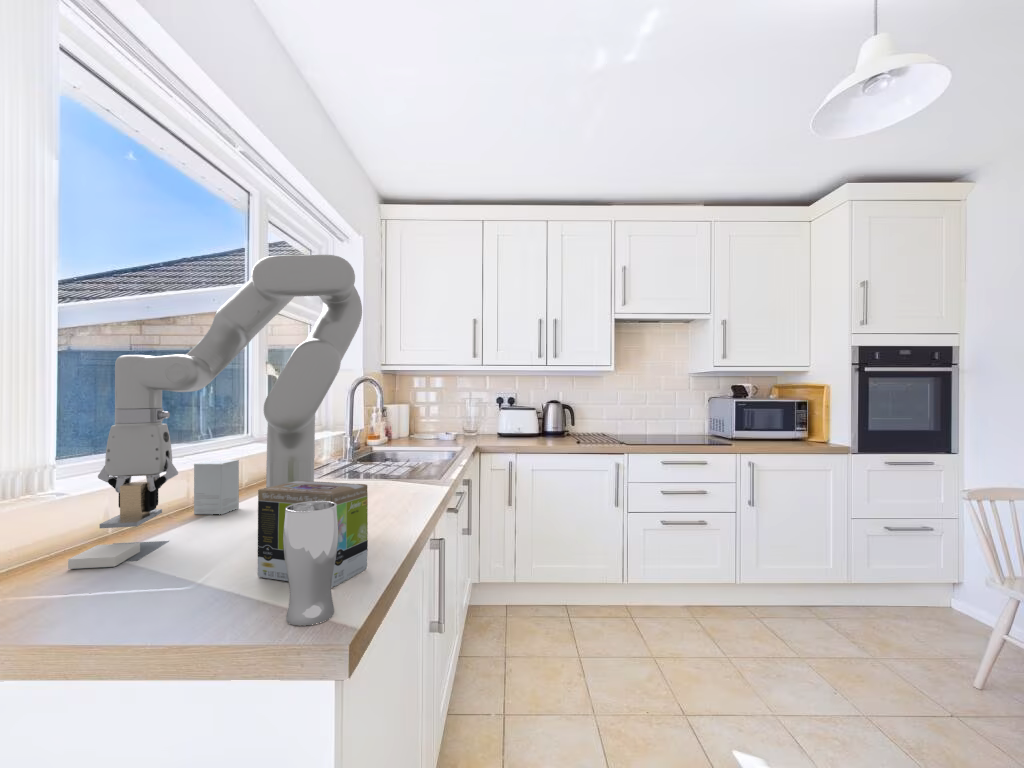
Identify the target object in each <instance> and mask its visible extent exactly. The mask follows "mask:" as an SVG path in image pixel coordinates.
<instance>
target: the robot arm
mask: <svg viewBox="0 0 1024 768" xmlns="http://www.w3.org/2000/svg"><path fill="white" fill-rule="evenodd" d="M355 282H356V273H355V270H354V268H353V266H352V264H351V263H350V262H349V261H348V260H346V259H345V258H344V257H341V256H338V255H334V254H292V255H291V254H285V255H281V254H280V255H270V256H266V257H262V258H261V259H259V260H258V261H257V262H255V264H254V265H253V267H252V269H251V278H250V279H249V280H248V281H247V282H246V283H245V284H244V285H243V286H242V287H240V288H239V289H238V290H237V291H236V292H235V293H234V294H233V295H232V296H231V297H230V298H229V299H228V300H227V301H226V302H225V303H224V304H222V305H221V306H220V307H219V308H218V309H217V311H216V313H215V314H214V317H213V321H212V324H211V326H210V328H209V329H208V331H207V332H206V334H205V335H204V336H203V337H202V339H201V340H199V342H197V344H195V346H193V347H192V348H191V349H190V350H189V351H188V352H187V353H186V354H179V353H177V354H167V355H157V356H155V355H147V354H146V355H145V354H123V355H120V356H118V357H117V358H116V360H115V365H114V408H115V409H114V424H113V425H111V426H110V428H109V432H108V433H109V434H108V436H107V442H106V448H105V463H104V466H103V467H102V469H101V471H100V472H99V473H98V475H97V478H98V479H99V480H102V481H103V482H105V483H108V484H109V485H110V486H111V487H113V489H114V490H115V492H116V493H118V508H119V509H120V486H122V485H124V484H127V483H131V481H132V477H145V479H146V482H147V486H148V491H146V492H145V511H146V512H150V511H152V510H154V509H157V506H158V505H159V489H161V487H162V486H163V485H164V484H165V483H166V482H168V481H169V480H171V479H172V478H175V477H176V476H177V475H179V471H178V470H177V468H176V466H175V465H174V464H173V451H172V443H171V435H170V431H169V428H168V427H169V426H168V424H167V423H163V422H164V420H165V419H169V418H170V416H171V414H170V411H165V410H164V408H163V391H165V392H166V391H167V392H168V391H169V392H176V393H187V392H197V391H200V390H202V389H204V388H206V386H208V385H209V384H210V383H211V382H213V380H214V379H215V378H217V377H218V375H219V374H221V372H223V371H224V370H225V369H226V368H227V367H228V366H229V365H230V364H231V363H232V362H233V361H234V360H235V358H236V357H237V356H238V355H239V354H240V353H241V351H243V350H244V349H245V347H247V346H248V345H249V344H250V342H251V341H252V339H254V337H256V335H258V334H259V333H260V332H261V331H262V330H263V329H264V328H265V326H266V325H268V324H269V323H270V322H271V321H272V320H273V319H274V318H275V317H276V316H277V315H278V314H279V313H280V312H281V311H282V310H283V309H284V308H286V306H287V305H288V304H289V303H290V302H291V301H292V300H293V299H294V298H296V297H319V298H320V300H321V301H322V311H321V313H320V314H319V317H318V318H317V320H316V322H315V324H314V326H313V328H312V330H311V332H310V333H309V334H308V336H307V338H306V339H305V340H304V341H303V342H301V343H299V344H298V345H297V346H296V347H295V349H294V350H293V351H292V353H291V355H290V356H289V358H288V360H287V362H286V363H285V365H284V367H283V369H282V370H281V372H280V373H279V376H278V377H277V378H276V381H275V383H274V384H273V385H272V387H271V390H270V391H269V392H268V394H267V396H266V398H265V399H264V404H263V416H264V418H265V420H266V422H267V432H266V433H267V435H266V469H265V470H266V474H265V475H266V477H265V478H266V479H265V480H266V481H265V482H266V483H265V484H266V486H265V488H268V487H272V486H277V485H282V484H286V483H291V482H295V481H315V450H316V449H315V447H316V446H315V445H316V443H315V442H316V441H315V440H316V439H315V438H316V436H315V435H316V413H317V411H318V409H319V408H320V406H321V404H322V402H323V401H324V399H325V397H326V396H327V393H328V392H329V391H330V388H331V386H332V385H333V382H334V381H335V379H336V377H337V376H338V373H339V371H340V368H341V363H342V360H343V358H344V356H345V355H346V353H347V351H348V349H349V347H350V346H351V343H352V341H353V340H354V337H356V333H357V331H358V330H359V327H360V324H361V322H362V317H363V305H362V299H361V296H360V295H359V292H358V290H357V288H356V286H355ZM161 473H165V474H163V475H161V476H160V474H161Z"/></svg>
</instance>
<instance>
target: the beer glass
mask: <svg viewBox="0 0 1024 768" xmlns="http://www.w3.org/2000/svg"><path fill="white" fill-rule="evenodd" d="M337 546H338V518H337V504H336V503H334V502H331V501H307V502H300V503H295V504H291V505H289V506H287V507H286V508H285V520H284V533H283V549H284V557H285V564H286V569H287V575H288V580H289V581H288V585H289V598H288V599H289V601H288V607H287V612H286V618H285V619H286V622H287V623H288V624H289V623H290V624H289V625H291V624H293V625H292V626H294V625H305V626H304V627H307V626H306V625H311V626H313V625H312V624H316V623H319V624H321V623H320V622H322V623H324V622H323V621H325V620H327V619H328V620H330V619H331V618H332V617H333V616H334V614H335V606H334V602H333V596H332V588H331V584H332V576H333V570H334V565H335V560H336V554H337ZM329 618H330V619H329ZM328 620H327V621H328ZM325 622H326V621H325ZM316 625H317V624H316Z"/></svg>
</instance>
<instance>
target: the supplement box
mask: <svg viewBox="0 0 1024 768" xmlns="http://www.w3.org/2000/svg"><path fill="white" fill-rule="evenodd" d="M239 463H240V460H239V459H210V460H205V461H200V462H196V463H194V464H193V514H194V515H213V514H219V515H220V514H221V515H225V514H227V513H229V511H230V512H233V511H236V510H238V509H239V507H240V504H239V503H240V501H239V500H240V493H239V492H240V482H239V481H240V476H239V474H240V465H239ZM235 509H236V510H235ZM232 510H233V511H232Z"/></svg>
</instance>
